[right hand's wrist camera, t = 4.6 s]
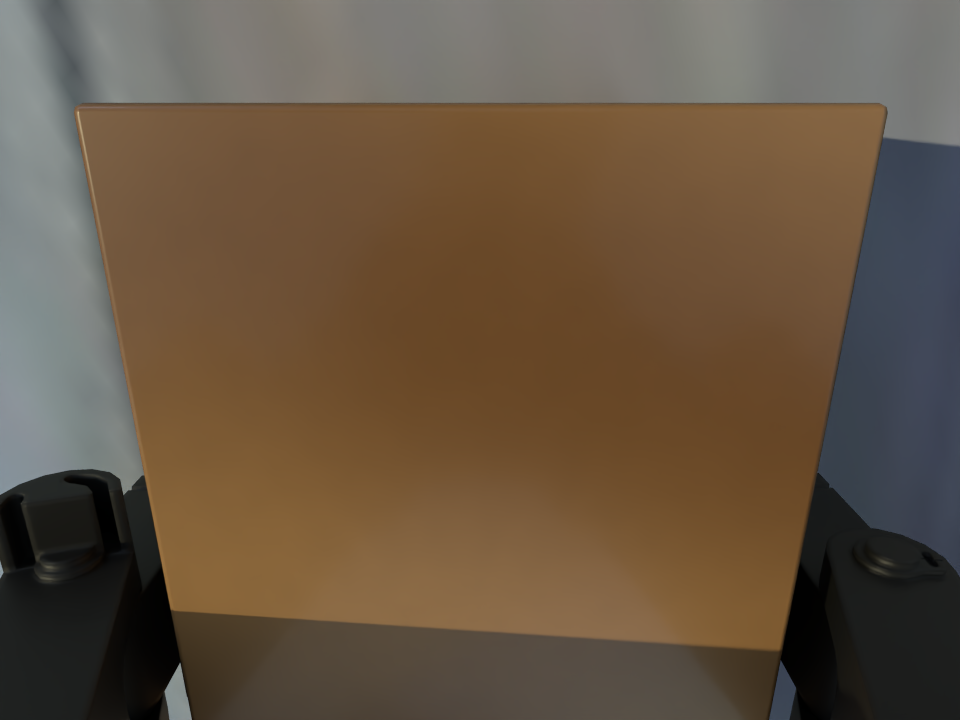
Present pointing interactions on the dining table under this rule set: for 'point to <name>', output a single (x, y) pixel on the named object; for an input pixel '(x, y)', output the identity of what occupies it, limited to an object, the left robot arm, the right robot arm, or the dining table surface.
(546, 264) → the bar
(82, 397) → the dining table surface
